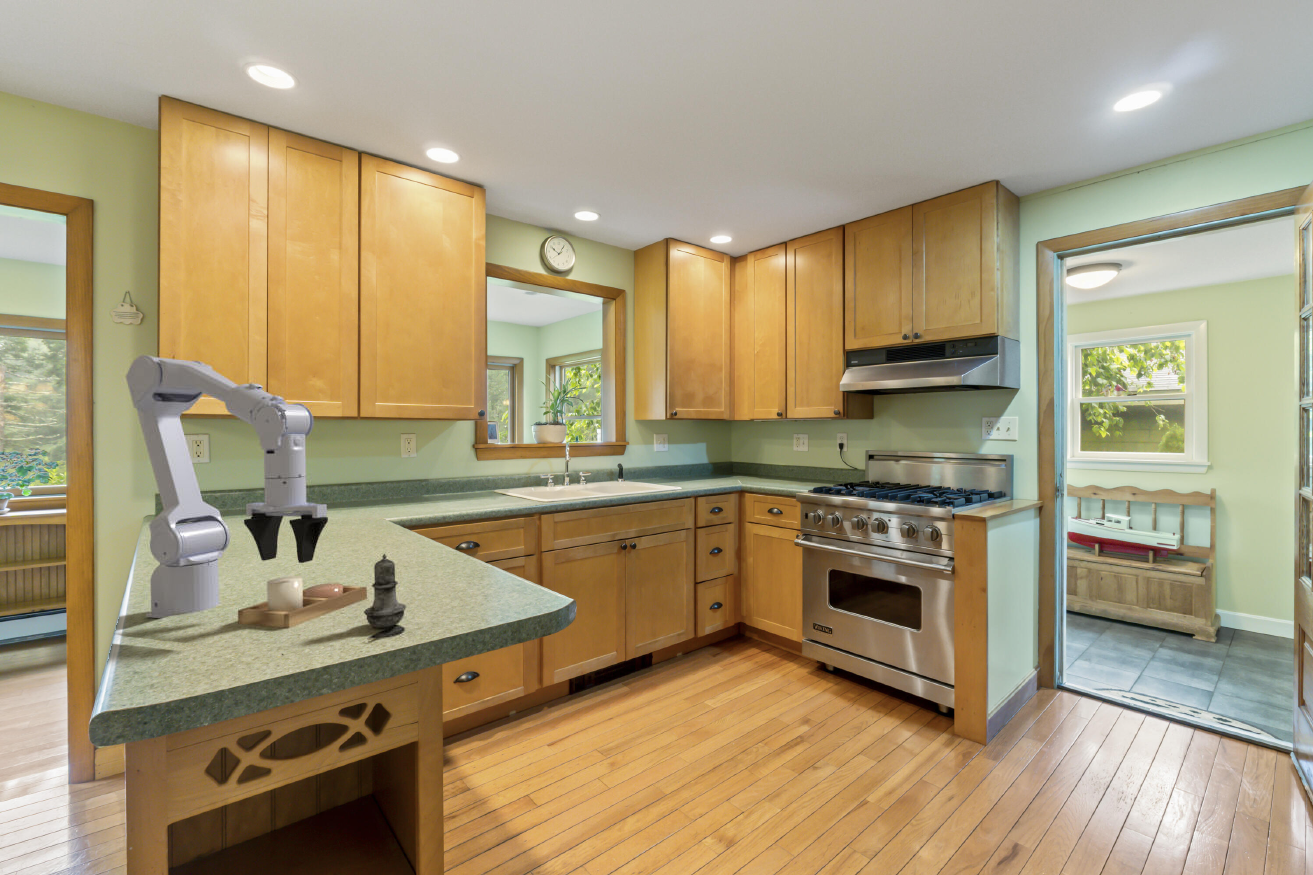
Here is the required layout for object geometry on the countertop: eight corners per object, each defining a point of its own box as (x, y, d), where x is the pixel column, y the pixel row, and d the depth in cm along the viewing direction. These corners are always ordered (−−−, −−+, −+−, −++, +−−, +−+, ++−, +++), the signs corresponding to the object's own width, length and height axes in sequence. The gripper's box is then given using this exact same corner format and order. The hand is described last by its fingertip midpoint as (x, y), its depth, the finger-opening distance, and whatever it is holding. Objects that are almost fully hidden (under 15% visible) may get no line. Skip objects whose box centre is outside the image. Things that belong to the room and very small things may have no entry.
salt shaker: (390, 640, 86) (388, 558, 86) (355, 637, 87) (353, 557, 87) (414, 626, 92) (413, 550, 92) (381, 624, 93) (380, 549, 93)
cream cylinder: (260, 620, 93) (259, 582, 93) (287, 611, 98) (286, 575, 97) (283, 623, 91) (282, 584, 91) (310, 613, 96) (309, 577, 96)
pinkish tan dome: (298, 607, 100) (297, 590, 100) (324, 597, 105) (324, 582, 105) (324, 609, 99) (324, 592, 99) (350, 599, 104) (350, 584, 104)
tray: (238, 629, 92) (237, 610, 92) (321, 600, 107) (320, 584, 107) (289, 634, 89) (289, 614, 89) (367, 603, 105) (366, 587, 105)
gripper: (227, 478, 94) (229, 563, 94) (300, 479, 90) (301, 568, 90) (267, 475, 101) (269, 554, 101) (336, 476, 97) (338, 558, 97)
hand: (287, 560), depth 96 cm, fingers open, 7 cm apart
